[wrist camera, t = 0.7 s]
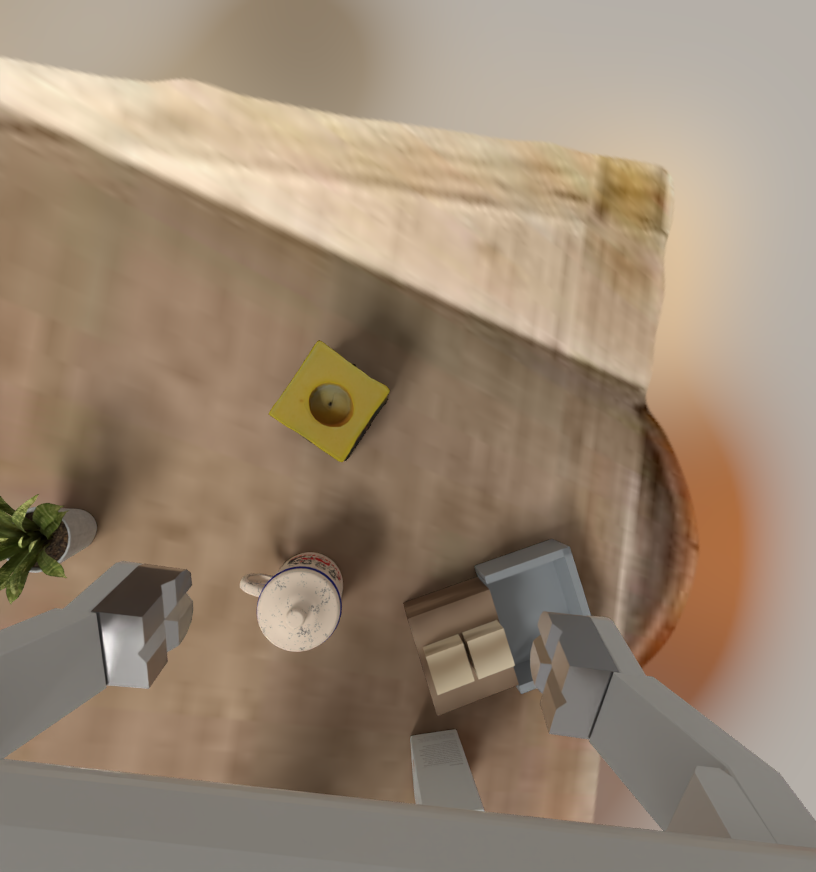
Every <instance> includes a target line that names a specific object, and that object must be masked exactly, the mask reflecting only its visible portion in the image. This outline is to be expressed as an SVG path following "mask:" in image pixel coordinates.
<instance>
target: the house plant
mask: <svg viewBox="0 0 816 872" xmlns="http://www.w3.org/2000/svg"><path fill="white" fill-rule="evenodd" d="M38 495H39V494H38ZM38 495H36V496H34V497H33V498H31V499H29V500H28V501H26V502H25V503H24V504H22V505H21V506H20V507H19V508H18V509H17V510H16V511H15V510H14V509H12V508H11V507H10V506H9V505H8V504H7V503H6V502H5V501H4V500H3V499H2V497H1V496H0V561H2V560H5V559H7V562H6V563H5V564H4V565H3V566H2V567H1V568H0V590H2V589H4V588H6V594H7V598H8V600H9V602H10V604H11V603H12V602H13V601H14V600H16V599H17V598H19V595H20V594H21V592H22V590H23V588H24V585H25V582H26V579H27V576H28V573H29V572H42V571H43V572H44V573H45V574H46V575H49V576H55V577H64V578H67V577H66V576H65V574H64V570H63V567H62V566H61V565H60V563H61V562H63V561H65V560H66V559H68V558H70V557H71V556H73V555H75V554H76V553H78V552H79V551H81V550H83V549H84V548H86V547H87V546H89V545H90V544H91V543H92V541H93V539H94V537H95V535H96V531H97V525H96V521H95V519H94V518H93V516H92V515H91V514H90V513H88V512H86V511H84V510H81V509H68V508H61V507H64V506H59V505H55V504H50V503H44V504H41V505H38V506H37V507H32V508H29V507H30V506H31V505H32V504H33V503H34V502H35V500H36V498H37V496H38ZM5 512H6V513H8V514H10V515H11V516H12V517H11V516H9V515H8V514H6V513H5ZM13 571H14V572H13ZM12 572H13V574H12ZM11 574H12V575H11ZM10 575H11V576H10ZM9 576H10V577H9Z"/></svg>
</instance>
